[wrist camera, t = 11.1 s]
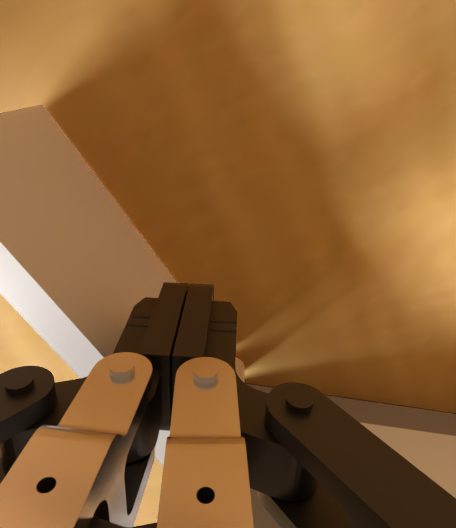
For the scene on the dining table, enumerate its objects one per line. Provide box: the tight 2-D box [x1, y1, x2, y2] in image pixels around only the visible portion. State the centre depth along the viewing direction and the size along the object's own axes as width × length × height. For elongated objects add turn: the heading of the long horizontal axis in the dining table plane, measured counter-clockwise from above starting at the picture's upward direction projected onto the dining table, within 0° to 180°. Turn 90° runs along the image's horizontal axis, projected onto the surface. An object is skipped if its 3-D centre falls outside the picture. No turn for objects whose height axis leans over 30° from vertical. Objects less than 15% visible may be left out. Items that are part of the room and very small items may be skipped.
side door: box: [0, 105, 245, 466], centre depth 15 cm, size 2×14×8 cm, turn 32°
